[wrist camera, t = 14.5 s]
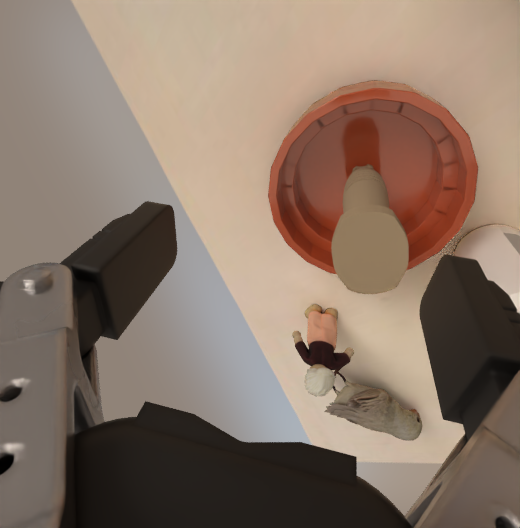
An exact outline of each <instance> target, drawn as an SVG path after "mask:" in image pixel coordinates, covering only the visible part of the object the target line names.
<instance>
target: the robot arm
mask: <svg viewBox="0 0 520 528" xmlns="http://www.w3.org/2000/svg"><path fill="white" fill-rule="evenodd" d="M176 255H177V241H176V229H175V218H174V211H173V208H172V206H170V205H165V204H159V203H154V202H148V201H147V202H145V203H143V204H142V205H141V206H140V207H138V208H137V209H136V210H135V211H134V212H133V213H131V214H127V215H125V216H122V217H120V218H117V219H115V220H113V221H112V222H110V223H109V224H108V225H107V226H105V227H104V228H103V229H102V231H99V232H98V233H97V234H95V235H94V236H93V239H89V240H88V241H87V242H86V243H84V244H83V245H82V246H81V247H79V248H78V249H77V250H76V251H74V252H73V253H72V254H71V255H70V256H69V257H67V258H66V259H65V260H63V261H62V262H61V263H60V264H58V263H40V264H35V265H31V266H28V267H25V268H23V269H21V270H18V271H17V272H15V273H13V274H12V275H11V276H9V277H8V278H7V279H6V280H5V281H4V282H0V528H520V314H519V313H518V312H517V308H516V307H515V305H514V303H513V301H512V300H511V298H510V296H509V295H508V294H507V293H506V292H505V291H504V290H503V289H502V288H500V287H499V286H498V285H497V284H496V283H495V282H494V281H490V280H487V278H486V276H485V274H484V272H483V270H482V268H481V266H480V264H479V263H478V261H477V260H475V259H470V258H464V257H458V256H453V255H444V256H443V257H442V258H441V260H440V262H439V264H438V266H437V268H436V270H435V272H434V274H433V276H432V278H431V280H430V282H429V284H428V287H427V289H426V291H425V293H424V295H423V297H422V300H421V304H420V320H421V324H422V329H423V333H424V337H425V342H426V346H427V351H428V355H429V359H430V364H431V368H432V373H433V377H434V381H435V386H436V390H437V395H438V399H439V403H440V408H441V412H442V417H443V419H444V420H448V421H452V422H456V423H460V424H463V426H464V430H465V434H464V436H463V437H462V438H461V439H460V440H459V442H458V443H457V445H456V446H455V447H454V449H453V450H452V452H451V453H450V455H449V456H448V457H447V459H446V460H445V462H444V463H443V464H442V466H441V467H440V469H439V470H438V472H437V473H436V474H435V476H434V477H433V479H432V480H431V482H430V483H429V485H428V486H427V487H426V489H425V490H424V491H423V493H422V494H421V496H420V497H419V498H418V500H417V501H416V502H415V503H414V505H413V506H412V507H411V508H410V510H409V511H408V513H407V514H406V515H405V516H404V515H403V514H402V513H401V512H400V511H399V510H398V509H397V508H396V507H395V505H393V503H392V502H391V501H390V500H389V499H388V498H386V497H385V496H384V495H383V494H382V493H380V491H379V490H377V489H376V488H375V487H373V486H372V485H370V484H369V483H367V482H366V481H365V480H363V479H361V478H360V477H358V476H356V457H355V456H351V455H347V454H343V453H340V452H336V451H332V450H328V449H324V448H321V447H317V446H313V445H309V444H305V443H302V442H284V443H283V442H274V443H273V442H272V443H271V442H267V443H266V442H265V443H262V442H261V443H260V442H259V443H258V442H255V443H252V442H251V443H248V442H242V441H239V440H237V439H235V438H234V437H232V436H230V435H229V434H227V433H225V432H224V431H222V430H220V429H218V428H217V427H215V426H213V425H212V424H210V423H208V422H207V421H205V420H203V419H201V418H200V417H198V416H196V415H195V414H191V413H188V412H184V411H180V410H176V409H173V408H169V407H165V406H161V405H157V404H153V403H150V402H145V403H144V405H143V407H142V409H141V410H140V412H139V414H138V416H137V417H128V418H121V419H115V420H112V421H107V422H105V421H104V417H103V413H102V406H101V396H100V384H99V373H98V360H97V350H96V346H95V343H96V341H97V340H98V339H99V338H100V336H104V337H107V338H111V339H116V340H118V338H119V337H120V336H121V334H122V333H123V332H124V330H125V329H126V328H127V326H128V325H129V324H130V322H131V321H132V319H133V318H134V317H135V316H136V314H137V313H138V312H139V310H140V309H141V308H142V306H143V305H144V304H145V302H146V301H147V300H148V298H149V297H150V296H151V294H152V293H153V292H154V290H155V289H156V288H157V286H158V285H159V284H160V282H161V281H162V280H163V278H164V277H165V276H166V274H167V273H168V272H169V270H170V269H171V268H172V266H173V264H174V262H175V259H176Z"/></svg>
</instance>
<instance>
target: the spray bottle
mask: <svg viewBox="0 0 520 528" xmlns="http://www.w3.org/2000/svg"><path fill="white" fill-rule="evenodd" d="M454 256H458V257H464V258H470V259H475V260H477V261H478V263H479V264H480V266H481V268H482V270H483V272H484V274H485V276H486V278H487V280H490V281H494V282H495V283H496V284H497V285H498V286H499V287H500V288H502V289H503V290H504V291H505V292H506V293H507V294H508V295H509V296H510V298H511V300H512V301H513V303H514V305H515V307H516V308H517V312H518V313H519V314H520V231H519V230H518V229H515V228H513V227H510V226H507V225H498V224H494V225H487V226H483V227H480V228H478V229H475V230H473V231H471V232H470V233H468V234H467V235H466V236H464V237H463V238H462V240H461V241H460V242H459V243H458V245H457V247H456V250H455V253H454Z"/></svg>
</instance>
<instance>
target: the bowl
mask: <svg viewBox="0 0 520 528" xmlns="http://www.w3.org/2000/svg"><path fill="white" fill-rule="evenodd" d="M367 164H370V165H372V166H373V168H374V170H375V171H377V172H378V173H379V174H380V176H381V177H382V179H383V181H384V183H385V186H386V189H387V193H388V198H389V209H392V210H393V212H394V213H395V215H396V216H397V218H398V219H399V221H400V223H401V224H402V226H403V228H404V230H405V232H406V235H407V239H408V246H409V261H408V267H407V269H406V270H408V269H411V268H412V267H415V266H417V265H418V264H420V263H422V262H423V261H425V260H426V259H428V258H430V257H431V256H433V255H435V254H436V253H438V252H440V251H441V249H442V248H443V247H444V246H445V245H446V244H447V243H448V242H449V241H450V240H451V239H452V238H453V237H454V236H455V235H456V234H457V233H458V232H459V230H460V229H461V227H462V225H463V223H464V221H465V219H466V217H467V215H468V213H469V211H470V209H471V207H472V205H473V203H474V200H475V192H476V183H477V174H478V165H477V162H476V158H475V155H474V151H473V148H472V144H471V141H470V137H469V136H468V134H467V133H466V132H465V130H464V129H463V128H462V127H461V126H460V124H459V123H458V122H457V121H456V119H455V118H454V117H453V116H452V115H451V113H450V112H449V111H448V110H447V109H446V108H445V107H443V106H442V105H441V104H440V103H438V102H437V101H436V100H435V99H433V98H431V97H430V96H428V95H426V94H424V93H422V92H420V91H418V90H416V89H414V88H413V87H411V86H409V85H406V84H402V83H393V82H385V81H377V80H372V81H367V82H363V83H358V84H353V85H349V86H344V87H341V88H339V89H337V90H335V91H334V92H332V93H330V94H329V95H327V96H325V97H323V98H322V99H320V100H318V101H317V102H315V103H313V104H312V105H311V106H310V107H309V109H308V110H307V111H306V112H305V113H304V114H303V115H302V116H301V117H300V119H299V120H298V121H297V122H296V123H295V124H294V125H293V126H292V128H291V130H290V131H289V133H288V134H287V136H286V137H285V139H284V140H283V143H282V145H281V147H280V149H279V151H278V154H277V156H276V158H275V160H274V162H273V165H272V167H271V174H270V184H269V193H268V197H269V202H270V206H271V211H272V215H273V220H274V223H275V225H276V226H277V228H278V230H279V231H280V233H281V235H282V236H283V238H284V240H285V241H286V243H287V244H288V245H289V246H290V247H291V248H292V249H293V250H294V251H295V252H297V253H298V254H299V255H300V256H301V257H302V258H303V259H304V260H305V261H307V262H309V263H311V264H313V265H315V266H317V267H319V268H321V269H323V270H325V271H327V272H330V273H333V274H337V273H336V272H335V269H334V265H333V259H332V249H331V246H332V238H333V234H334V231H335V229H336V226H337V223H338V221H339V219H340V216H341V215H342V214H344V213H343V193H344V188H345V184H346V181H347V179H348V178H349V176H350V175H351V174H352V170H353V168H354V167H356V166H365V165H367Z"/></svg>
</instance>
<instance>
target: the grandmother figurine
mask: <svg viewBox="0 0 520 528" xmlns="http://www.w3.org/2000/svg"><path fill="white" fill-rule="evenodd" d="M321 310H322V308H321V307H320V306H319V305H316V304H313V305H311V306H310V307H309V308H308V309H307V310H306V311H305V316H306V317H307V318H308V332H307V342H308V346H309V350H308V348H307V347H306V345H305V343H304V342H303V340H302V338H301V334H300V332H299V331H294V332H293V338H294V342H295V347H296V349H297V351H298V353H299V354H300V356H301V358H302V359H303V361H304V362H305V363H307V364H308V365H310V366H312V367H310V369H308V370H307V374H306V376H305V387H306V390H308V392H309V393H310V394H312V395H315V396H324V395H326V394H327V393H328V392H329V391H330V390H331V389H332V387H333V385H334V379H335V378H336V377H335V376H334V374H333V372H332V371H331V370H336V369H339V368H341V367H343V366H345V365H346V364H348V363H349V362H350V358H351V356H352V355H353V354H354V350H353V349H352V348H347V349H346V350H345V352H344V353H334V350H335V348H336V340H337V310H336V309H333V308H328V309H326V311H325V313H324V314H321Z"/></svg>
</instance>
